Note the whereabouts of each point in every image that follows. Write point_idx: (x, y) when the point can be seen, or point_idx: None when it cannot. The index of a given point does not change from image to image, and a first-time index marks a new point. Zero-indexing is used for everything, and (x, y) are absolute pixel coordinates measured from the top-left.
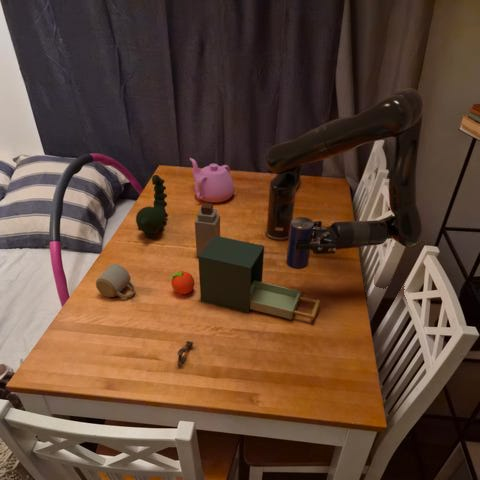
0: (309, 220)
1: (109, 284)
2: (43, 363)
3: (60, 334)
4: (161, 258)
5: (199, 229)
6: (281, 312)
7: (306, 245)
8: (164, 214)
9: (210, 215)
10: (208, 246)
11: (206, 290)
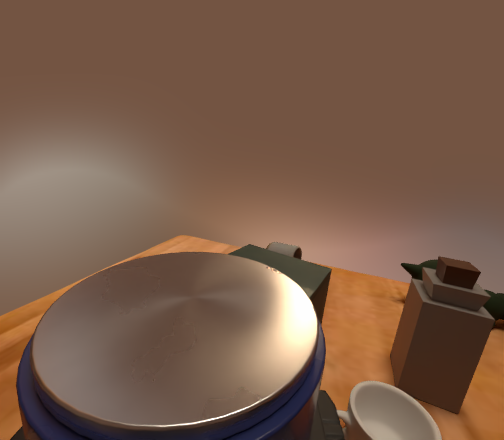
0: (203, 378)
1: (266, 248)
2: (193, 241)
3: (223, 246)
4: (365, 310)
5: (409, 298)
6: None
7: (23, 431)
8: (497, 310)
9: (439, 282)
10: (282, 255)
11: None
